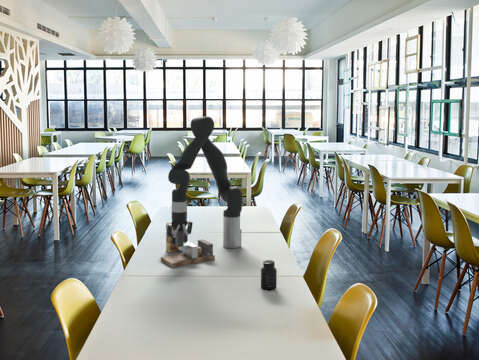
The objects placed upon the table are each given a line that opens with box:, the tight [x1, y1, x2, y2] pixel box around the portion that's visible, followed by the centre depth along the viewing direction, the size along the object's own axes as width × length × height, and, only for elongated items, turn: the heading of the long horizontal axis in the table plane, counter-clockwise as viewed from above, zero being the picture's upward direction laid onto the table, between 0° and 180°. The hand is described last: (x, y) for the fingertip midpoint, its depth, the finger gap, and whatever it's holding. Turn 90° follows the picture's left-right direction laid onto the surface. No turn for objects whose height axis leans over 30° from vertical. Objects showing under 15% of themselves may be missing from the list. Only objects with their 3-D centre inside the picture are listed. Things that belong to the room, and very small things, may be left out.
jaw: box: [175, 230, 198, 259], centre depth 257 cm, size 9×10×14 cm
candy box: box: [165, 222, 182, 253], centre depth 274 cm, size 9×4×15 cm, turn 123°
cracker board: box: [160, 239, 216, 268], centre depth 259 cm, size 24×12×8 cm, turn 124°
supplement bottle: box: [260, 259, 278, 292], centre depth 222 cm, size 7×7×12 cm
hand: (179, 243), depth 255 cm, fingers open, 5 cm apart
